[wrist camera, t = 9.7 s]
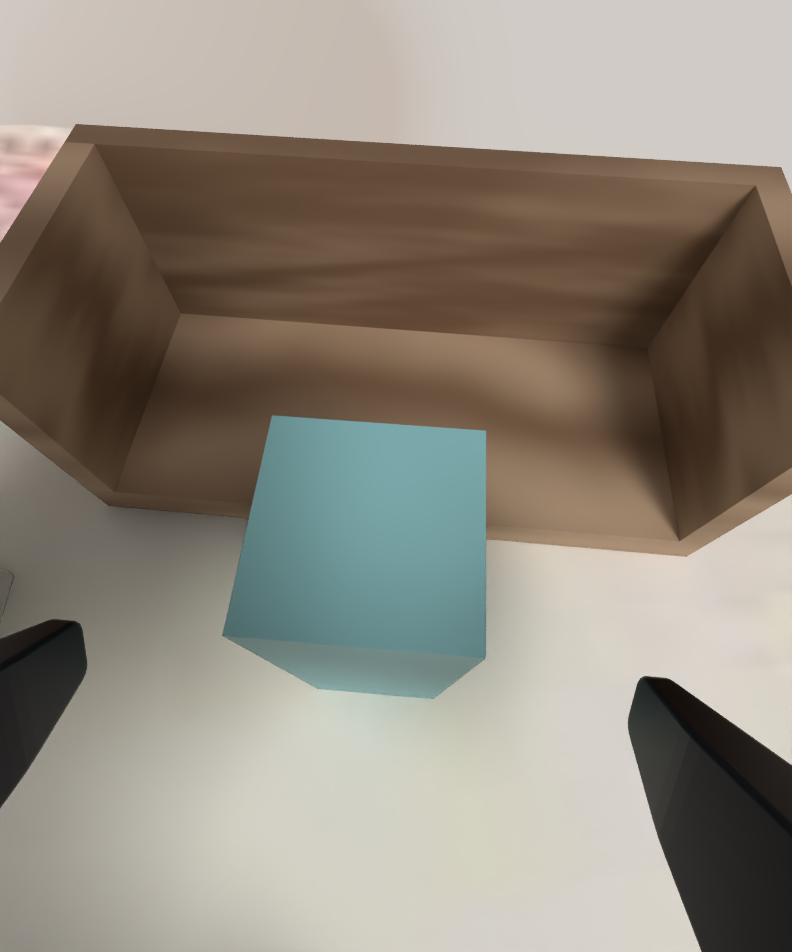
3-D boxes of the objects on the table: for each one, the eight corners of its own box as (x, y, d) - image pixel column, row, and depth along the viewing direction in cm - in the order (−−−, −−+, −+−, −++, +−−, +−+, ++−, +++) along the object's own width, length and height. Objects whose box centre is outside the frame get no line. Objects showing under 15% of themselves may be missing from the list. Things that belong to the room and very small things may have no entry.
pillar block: (433, 698, 17) (485, 658, 8) (317, 688, 18) (221, 635, 8) (438, 583, 19) (486, 430, 9) (333, 575, 19) (272, 415, 10)
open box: (686, 556, 20) (888, 436, 12) (107, 505, 21) (-75, 360, 13) (651, 354, 24) (781, 167, 16) (177, 318, 25) (76, 124, 17)
